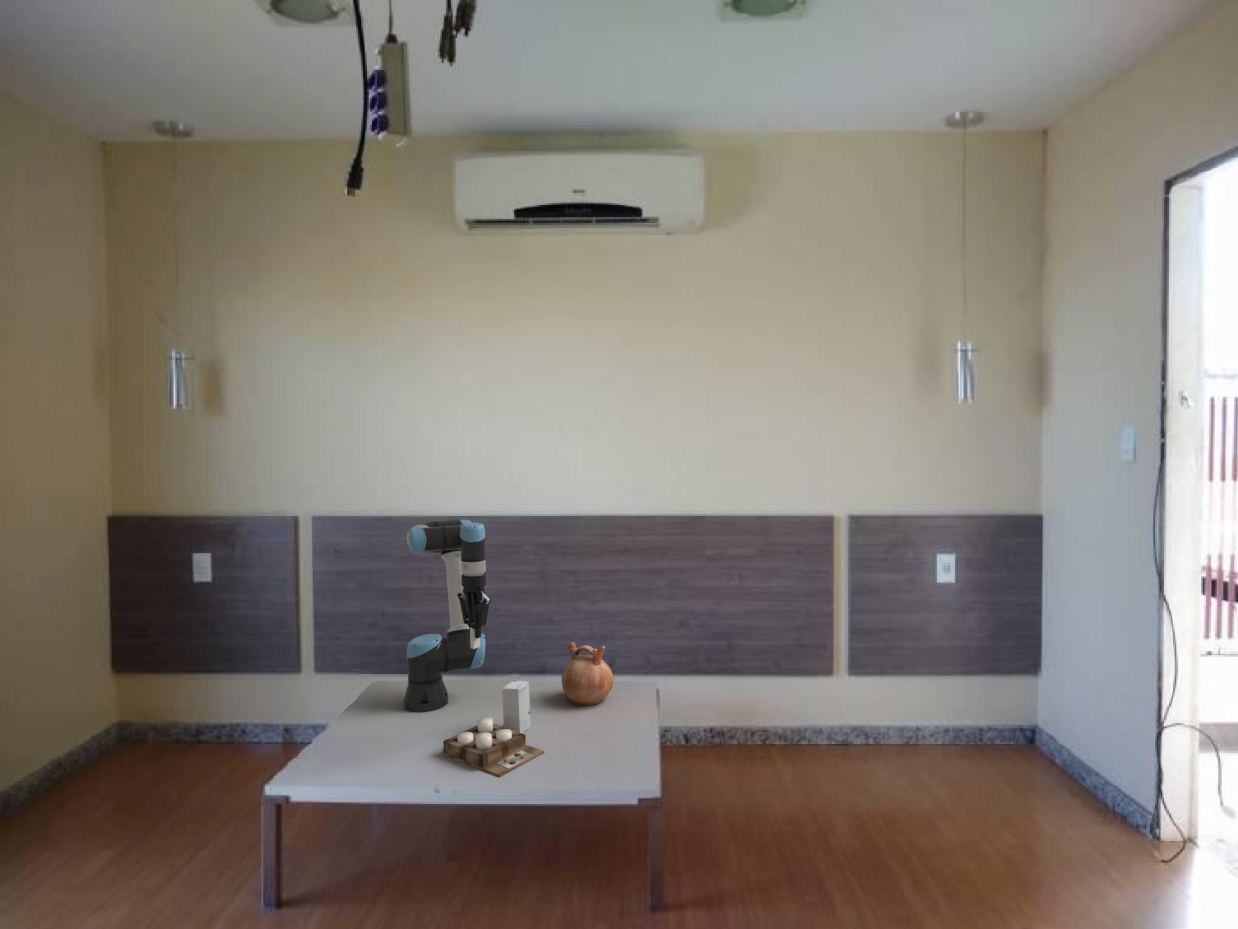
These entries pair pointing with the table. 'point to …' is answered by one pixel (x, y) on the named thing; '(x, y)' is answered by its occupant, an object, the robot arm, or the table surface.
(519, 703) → the skincare box
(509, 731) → the button
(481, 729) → the button
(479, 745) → the button
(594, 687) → the jug
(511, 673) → the table surface
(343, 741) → the table surface
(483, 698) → the table surface
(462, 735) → the button
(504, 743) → the board
